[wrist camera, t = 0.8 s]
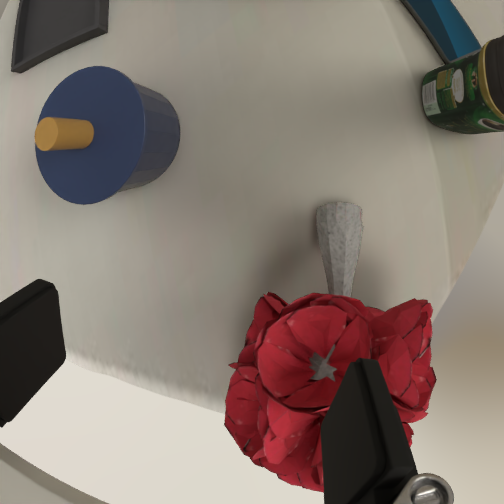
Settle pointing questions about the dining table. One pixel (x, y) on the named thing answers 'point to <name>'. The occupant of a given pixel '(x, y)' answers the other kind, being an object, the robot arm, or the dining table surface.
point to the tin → (156, 139)
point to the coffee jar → (468, 92)
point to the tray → (54, 28)
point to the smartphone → (444, 28)
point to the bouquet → (322, 359)
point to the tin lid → (91, 135)
